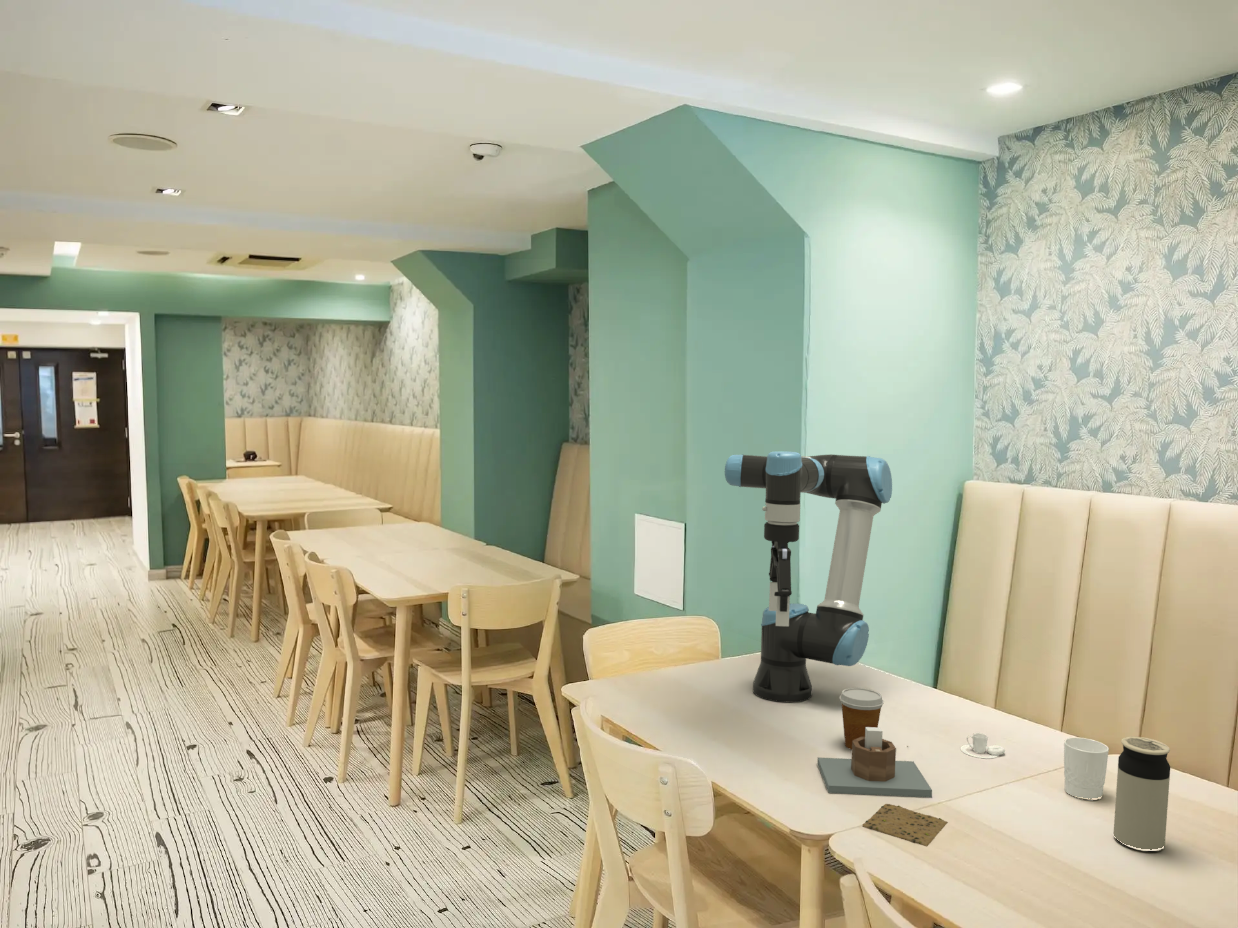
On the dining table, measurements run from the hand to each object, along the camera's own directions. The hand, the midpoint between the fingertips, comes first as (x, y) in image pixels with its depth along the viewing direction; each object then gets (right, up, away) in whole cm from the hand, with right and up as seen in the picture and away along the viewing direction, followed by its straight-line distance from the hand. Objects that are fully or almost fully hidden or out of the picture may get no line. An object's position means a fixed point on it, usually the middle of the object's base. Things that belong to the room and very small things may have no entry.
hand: (778, 618), depth 205 cm
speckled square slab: (+17, -33, -34) cm, 51 cm away
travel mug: (+57, -33, -40) cm, 77 cm away
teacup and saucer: (+45, -31, -2) cm, 55 cm away
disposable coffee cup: (+18, -29, +2) cm, 35 cm away
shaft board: (+16, -30, -16) cm, 38 cm away
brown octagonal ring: (+16, -29, -16) cm, 37 cm away
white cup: (+57, -32, -20) cm, 68 cm away
